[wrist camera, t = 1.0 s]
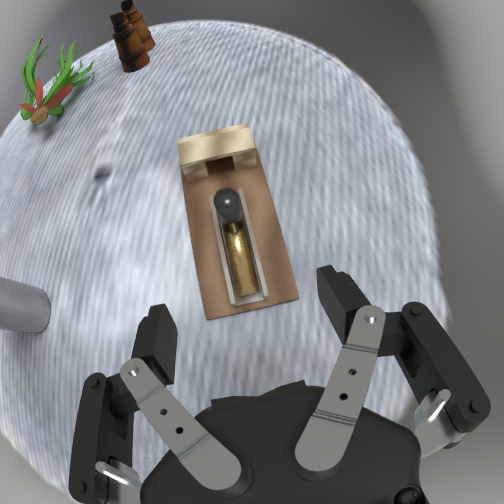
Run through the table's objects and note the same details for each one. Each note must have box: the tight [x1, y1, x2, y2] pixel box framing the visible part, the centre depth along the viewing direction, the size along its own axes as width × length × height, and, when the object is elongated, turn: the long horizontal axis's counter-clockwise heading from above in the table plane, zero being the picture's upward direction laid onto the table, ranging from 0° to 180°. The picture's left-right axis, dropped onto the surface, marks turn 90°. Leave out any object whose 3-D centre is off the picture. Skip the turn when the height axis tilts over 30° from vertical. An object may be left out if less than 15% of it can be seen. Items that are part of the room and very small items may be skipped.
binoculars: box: [110, 0, 155, 73], centre depth 50 cm, size 18×8×20 cm, turn 5°
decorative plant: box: [20, 36, 95, 126], centre depth 46 cm, size 26×25×30 cm
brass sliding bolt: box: [213, 187, 260, 297], centre depth 36 cm, size 3×16×11 cm, turn 13°
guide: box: [177, 123, 299, 320], centre depth 41 cm, size 14×29×7 cm, turn 13°
